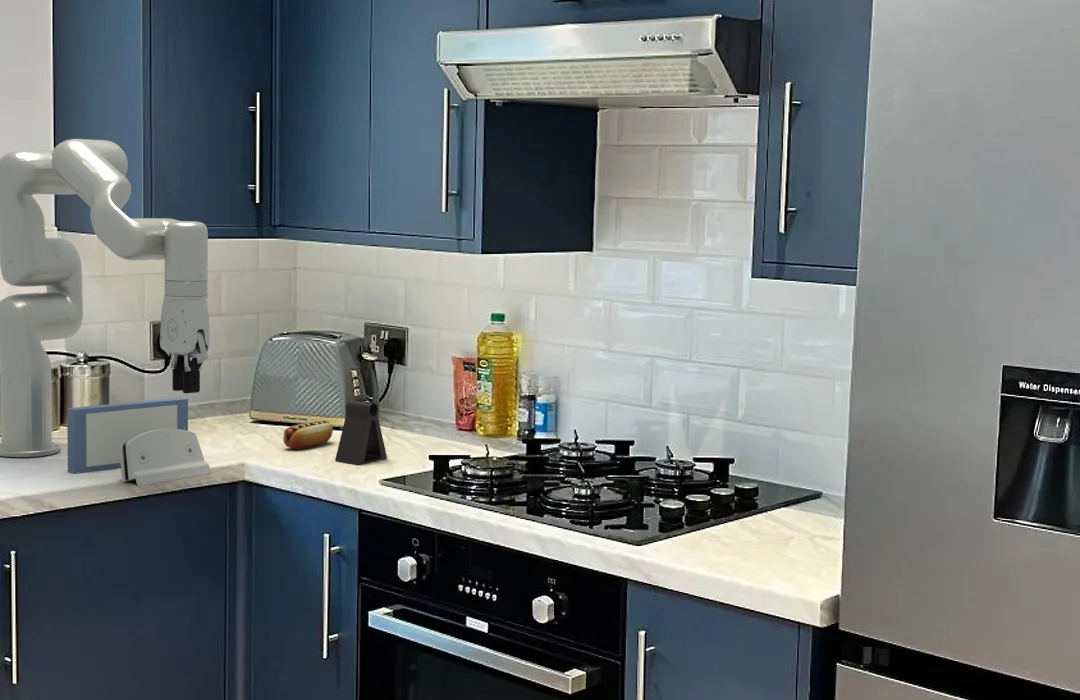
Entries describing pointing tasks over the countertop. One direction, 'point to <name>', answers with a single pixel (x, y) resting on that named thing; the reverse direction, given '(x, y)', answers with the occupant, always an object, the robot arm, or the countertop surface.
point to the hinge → (162, 457)
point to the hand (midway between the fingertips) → (186, 390)
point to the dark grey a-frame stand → (361, 435)
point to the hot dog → (307, 434)
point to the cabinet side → (116, 429)
